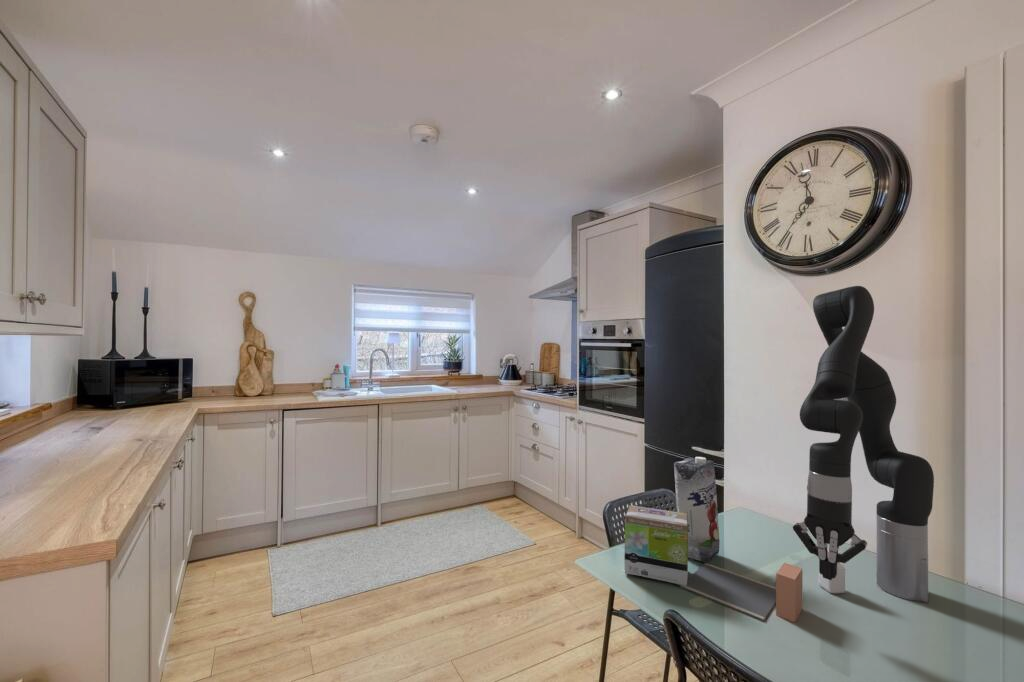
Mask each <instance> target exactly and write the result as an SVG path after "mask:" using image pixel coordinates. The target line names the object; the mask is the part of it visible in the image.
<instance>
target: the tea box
mask: <svg viewBox="0 0 1024 682" xmlns="http://www.w3.org/2000/svg"><path fill="white" fill-rule="evenodd" d="M628 506H629V507H628V509H627V512H626V513H625V514H626V515H625V517H624V518H625V519H624V522H625V523H624V559H623V560H624V574H625V575H634V576H639V577H640V576H641V577H643V578H648V579H653V580H658V581H661V582H662V581H663V582H665V583H666V582H667V583H671V584H676V585H679V586H680V585H683V586H686V585H687V579H688V576H689V575H688V573H689V572H688V571H689V570H688V569H689V567H688V564H689V563H688V562H689V558H688V521H687V513H680V512H677V511H674V510H665V509H659V508H653V507H652V508H650V507H646V506H645V507H644V506H640V505H639V506H638V505H633V504H632V505H631V504H629V505H628Z"/></svg>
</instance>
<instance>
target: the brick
mask: <svg viewBox="0 0 1024 682" xmlns="http://www.w3.org/2000/svg"><path fill="white" fill-rule="evenodd" d="M775 587H776V603H775V615H776V616H777V617H779V618H782V619H785V620H787V621H790V622H791V623H792V622H793V623H796V621H797V620H798V619H799V616H800V614H801V613H802V610H803V568H802V567H799V566H798V565H793V564H790V563H787V562H783V564H782V565H781V567H780V568H779V569H778V570H777V572H776V574H775Z"/></svg>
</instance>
